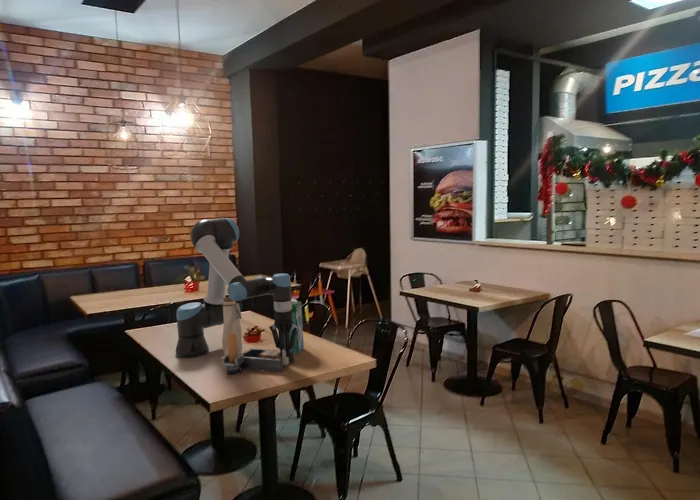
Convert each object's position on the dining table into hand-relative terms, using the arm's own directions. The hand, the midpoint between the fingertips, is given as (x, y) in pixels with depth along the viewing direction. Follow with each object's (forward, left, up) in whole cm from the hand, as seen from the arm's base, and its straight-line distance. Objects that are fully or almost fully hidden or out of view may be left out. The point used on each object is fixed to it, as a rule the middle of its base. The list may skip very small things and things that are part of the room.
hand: (285, 363), depth 223 cm
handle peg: (-19, -11, +3) cm, 22 cm away
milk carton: (-7, +21, -1) cm, 22 cm away
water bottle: (-29, +6, -1) cm, 30 cm away
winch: (-19, -11, -1) cm, 22 cm away
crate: (-6, 0, -1) cm, 6 cm away
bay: (-9, 0, -1) cm, 10 cm away
